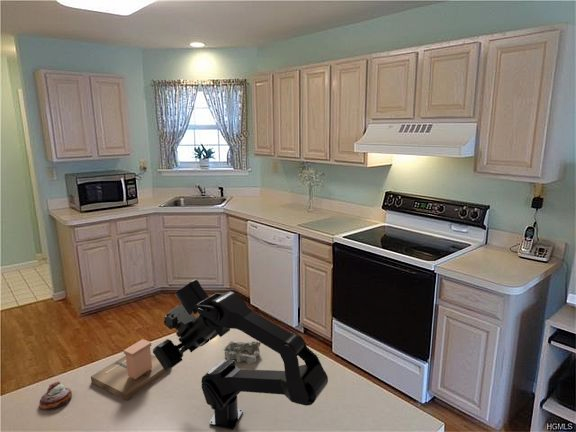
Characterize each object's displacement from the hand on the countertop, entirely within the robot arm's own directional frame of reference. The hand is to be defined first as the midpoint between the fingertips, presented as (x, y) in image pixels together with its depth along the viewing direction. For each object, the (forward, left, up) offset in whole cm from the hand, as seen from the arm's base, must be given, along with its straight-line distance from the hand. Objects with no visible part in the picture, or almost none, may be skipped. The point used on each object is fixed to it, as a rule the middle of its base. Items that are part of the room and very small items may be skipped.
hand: (173, 354), depth 105 cm
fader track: (+5, +17, -13) cm, 22 cm away
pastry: (-10, +30, -13) cm, 34 cm away
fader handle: (+4, +14, -11) cm, 18 cm away
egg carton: (+22, -10, -13) cm, 27 cm away
